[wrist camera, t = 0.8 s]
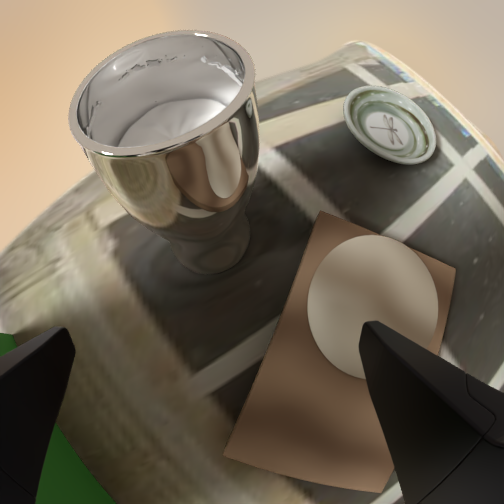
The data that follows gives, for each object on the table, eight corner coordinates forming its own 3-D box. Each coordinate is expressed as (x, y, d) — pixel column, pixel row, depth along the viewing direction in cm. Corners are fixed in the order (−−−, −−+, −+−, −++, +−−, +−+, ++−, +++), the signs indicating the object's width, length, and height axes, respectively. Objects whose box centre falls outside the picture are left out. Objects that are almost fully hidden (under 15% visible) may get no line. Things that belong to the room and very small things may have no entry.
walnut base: (371, 483, 17) (381, 493, 15) (225, 446, 18) (222, 456, 16) (442, 274, 22) (457, 268, 20) (314, 221, 23) (320, 209, 21)
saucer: (323, 102, 27) (328, 85, 25) (399, 99, 28) (407, 85, 26) (362, 182, 24) (371, 167, 22) (441, 170, 25) (452, 158, 23)
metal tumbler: (261, 199, 24) (271, 28, 9) (249, 287, 22) (243, 170, 7) (176, 189, 24) (111, 35, 10) (156, 273, 22) (31, 162, 7)
